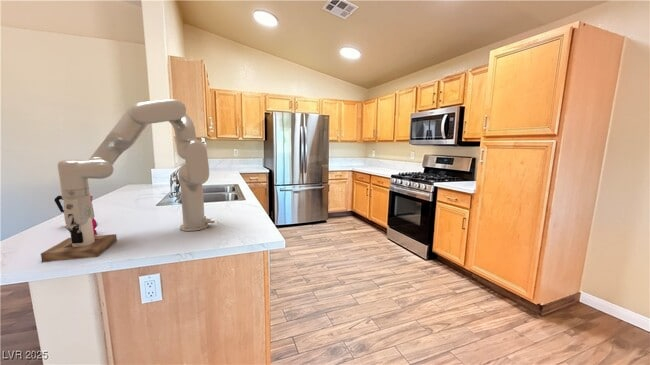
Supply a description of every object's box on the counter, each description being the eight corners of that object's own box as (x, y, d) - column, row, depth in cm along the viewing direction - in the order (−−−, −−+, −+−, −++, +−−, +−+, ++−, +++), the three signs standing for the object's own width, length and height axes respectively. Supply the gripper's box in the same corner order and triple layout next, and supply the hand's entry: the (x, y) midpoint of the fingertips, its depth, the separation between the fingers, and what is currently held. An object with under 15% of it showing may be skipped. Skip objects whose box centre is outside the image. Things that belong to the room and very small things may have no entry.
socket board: (117, 241, 112) (116, 234, 112) (97, 256, 97) (96, 248, 97) (69, 244, 107) (68, 237, 107) (41, 261, 92) (40, 253, 92)
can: (99, 244, 105) (95, 215, 103) (79, 251, 98) (75, 219, 97) (88, 242, 107) (84, 213, 105) (68, 248, 101) (64, 218, 99)
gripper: (75, 197, 92) (82, 247, 95) (99, 188, 108) (104, 231, 111) (47, 198, 90) (55, 249, 92) (76, 189, 106) (82, 233, 109)
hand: (82, 239), depth 102 cm, fingers closed on can, 5 cm apart
